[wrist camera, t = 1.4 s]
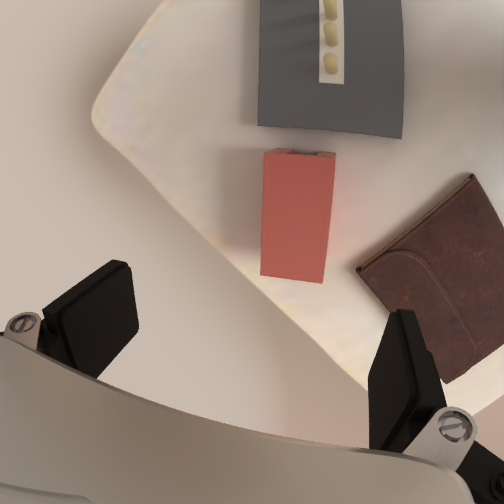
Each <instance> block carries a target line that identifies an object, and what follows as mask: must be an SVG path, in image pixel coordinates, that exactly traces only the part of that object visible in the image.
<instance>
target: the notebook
mask: <svg viewBox="0 0 504 504" xmlns="http://www.w3.org/2000/svg"><path fill="white" fill-rule="evenodd" d="M470 176H471V177H469V178H467V179H466V180H465V181H464V182H463V183H462V184H461V185H460V186H458V187H457V188H456V189H455V190H454V191H453V192H452V193H451V194H449V195H448V196H447V197H446V198H445V199H444V200H442V201H441V202H440V203H439V204H438V205H437V206H435V207H434V208H433V209H432V210H431V211H429V212H428V213H427V214H426V215H425V216H423V217H422V218H421V219H420V220H419V221H417V222H416V223H415V224H414V225H413V226H411V227H410V228H409V229H408V230H406V231H405V232H404V233H403V234H401V235H400V236H399V237H398V238H396V239H395V240H394V241H393V242H391V243H390V244H389V245H388V246H386V247H385V248H384V249H382V250H381V251H380V252H379V253H377V254H376V255H375V256H373V257H372V258H371V259H369V260H368V261H367V262H365V263H364V264H363V265H362V266H361V267H362V269H360V268H359V267H357V268H356V272H357V273H358V275H359V276H360V277H361V278H362V279H363V280H364V282H365V283H366V284H367V285H368V286H369V288H370V289H371V290H372V291H373V292H374V294H375V295H376V296H377V297H378V298H379V300H380V301H381V302H382V303H383V305H384V306H385V307H386V308H387V309H388V311H389V312H390V313H391V312H396V310H397V309H398V308H400V309H407V310H414V312H415V315H416V317H417V320H418V323H419V326H420V329H421V332H422V335H423V338H424V341H425V344H426V348H427V350H428V351H430V352H431V353H432V355H433V358H434V361H435V364H436V368H437V371H438V374H439V376H440V378H441V379H442V381H443V382H444V383H445V384H448V383H450V382H451V381H453V380H455V379H456V378H458V377H459V376H461V375H463V374H464V373H465V372H467V371H468V370H469V369H470V368H471V367H472V366H474V365H475V364H477V363H478V362H480V361H481V360H482V359H484V358H485V357H487V356H488V355H490V354H491V353H492V352H494V351H495V350H496V349H498V348H499V347H500V346H502V345H503V344H504V227H503V225H502V223H501V221H500V219H499V217H498V215H497V213H496V212H495V210H494V208H493V206H492V204H491V202H490V201H489V199H488V197H487V195H486V194H485V192H484V190H483V188H482V187H481V185H480V183H479V182H478V180H477V178H476V177H475V175H474V174H471V175H470Z"/></svg>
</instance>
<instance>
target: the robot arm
mask: <svg viewBox="0 0 504 504" xmlns="http://www.w3.org/2000/svg"><path fill="white" fill-rule="evenodd" d="M42 311H43V315H44V319H43V320H42V321H41V318H40V316H39V315H38V314H36V313H33V312H25V313H20V314H18V315H16V316H14V317H13V318H11V319H10V320H9V321H8V323H7V325H6V328H5V331H4V332H0V504H504V461H502V460H501V459H500V458H498V457H497V456H496V455H494V454H493V453H491V452H490V451H489V450H487V449H486V448H485V447H483V446H482V445H480V444H479V443H478V442H476V441H475V438H476V435H477V425H476V423H475V420H474V419H473V418H472V416H471V415H470V414H469V413H467V412H466V411H465V410H463V409H461V408H457V407H447V404H446V400H445V396H444V392H443V389H442V385H441V381H440V378H439V374H438V371H437V368H436V364H435V361H434V358H433V355H432V353H431V352H430V351H428V350H427V348H426V344H425V341H424V338H423V335H422V332H421V329H420V326H419V323H418V320H417V317H416V315H415V312H414V310H407V309H400V308H398V309H397V310H396V312H391V313H390V315H389V318H388V321H387V324H386V327H385V330H384V333H383V336H382V339H381V342H380V345H379V347H378V350H377V353H376V356H375V358H374V361H373V364H372V366H371V369H370V372H369V375H368V397H369V449H366V448H359V447H350V446H340V445H333V444H325V443H319V442H313V441H306V440H301V439H295V438H289V437H283V436H278V435H272V434H268V433H262V432H258V431H253V430H249V429H245V428H241V427H237V426H232V425H229V424H225V423H221V422H217V421H213V420H209V419H206V418H203V417H199V416H196V415H192V414H189V413H186V412H183V411H179V410H176V409H174V408H170V407H167V406H165V405H162V404H158V403H156V402H153V401H150V400H147V399H145V398H142V397H139V396H136V395H134V394H131V393H129V392H126V391H124V390H121V389H119V388H116V387H114V386H111V385H109V384H107V383H104V382H102V381H100V380H97V377H98V376H99V375H100V374H101V373H102V372H103V371H104V370H105V368H106V367H107V366H108V365H109V364H110V363H111V362H112V360H113V359H114V358H115V357H116V356H117V355H118V354H119V353H120V351H121V350H122V349H123V348H124V347H125V346H126V345H127V344H128V343H129V341H130V340H131V339H132V338H133V337H134V336H135V335H136V333H137V332H138V329H139V322H138V315H137V309H136V303H135V295H134V287H133V280H132V271H131V268H130V267H129V266H128V264H127V263H126V262H123V261H118V260H111V261H109V262H108V263H106V264H105V265H103V266H102V267H101V268H99V269H98V270H96V271H95V272H93V273H92V274H90V275H89V276H88V277H86V278H85V279H84V280H82V281H81V282H79V283H78V284H76V285H75V286H73V287H72V288H71V289H69V290H68V291H67V292H65V293H64V294H62V295H61V296H60V297H59V298H57V299H56V300H54V301H53V302H52V303H50V304H49V305H48V306H46V307H45V308H44V309H42Z"/></svg>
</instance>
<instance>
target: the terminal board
mask: <svg viewBox="0 0 504 504" xmlns="http://www.w3.org/2000/svg"><path fill="white" fill-rule="evenodd" d="M403 102H404V43H403V22H402V8H401V0H261V4H260V49H259V93H258V126H273V127H293V128H308V129H320V130H331V131H341V132H351V133H359V134H367V135H374V136H382V137H388V138H395V139H402V124H403Z"/></svg>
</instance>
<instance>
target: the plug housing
mask: <svg viewBox="0 0 504 504" xmlns="http://www.w3.org/2000/svg"><path fill="white" fill-rule="evenodd" d="M335 158H336V153H330V152H319V154H318V155H317V156H316V155H304V154H293V149H282V148H277V149H274V150H271V151H269V152H266V153H264V179H263V210H262V240H261V268H260V275H263V276H270V277H277V278H284V279H292V280H299V281H307V282H314V283H323V276H324V268H325V261H326V253H327V245H328V236H329V227H330V217H331V207H332V196H333V185H334V172H335Z"/></svg>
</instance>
